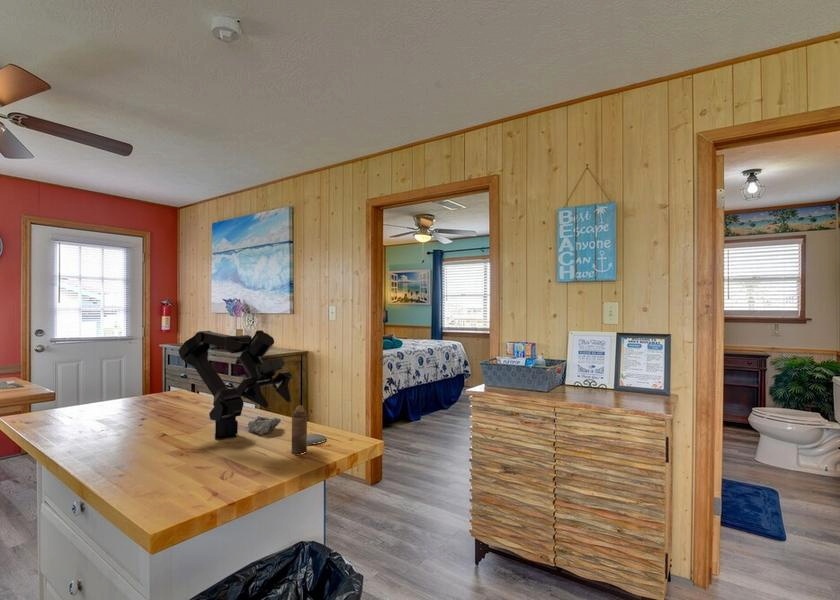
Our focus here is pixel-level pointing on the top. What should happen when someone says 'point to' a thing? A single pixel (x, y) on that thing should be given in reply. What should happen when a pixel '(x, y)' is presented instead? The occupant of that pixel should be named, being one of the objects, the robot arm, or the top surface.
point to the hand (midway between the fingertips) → (278, 404)
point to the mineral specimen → (263, 424)
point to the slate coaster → (315, 438)
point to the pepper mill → (299, 431)
